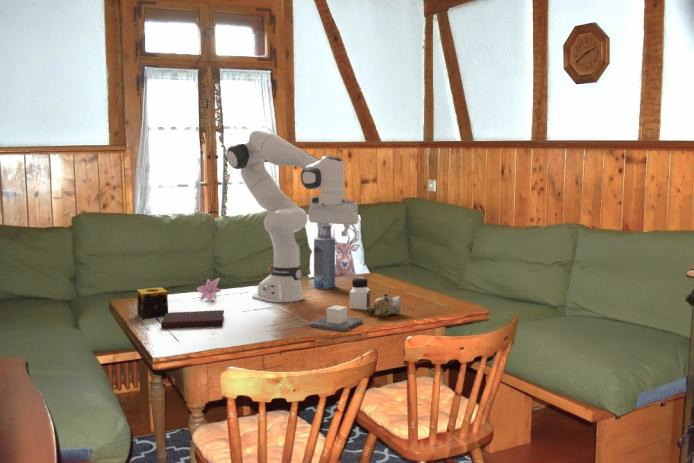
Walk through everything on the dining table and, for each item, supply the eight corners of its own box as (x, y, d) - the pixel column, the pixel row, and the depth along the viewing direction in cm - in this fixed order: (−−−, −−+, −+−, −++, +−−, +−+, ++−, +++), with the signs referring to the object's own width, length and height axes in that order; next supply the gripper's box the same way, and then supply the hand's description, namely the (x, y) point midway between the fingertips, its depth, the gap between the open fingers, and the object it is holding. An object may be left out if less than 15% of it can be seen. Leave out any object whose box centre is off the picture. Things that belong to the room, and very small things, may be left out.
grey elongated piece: (309, 287, 321) (309, 222, 317) (325, 284, 328) (325, 220, 324) (323, 290, 314) (322, 224, 310) (339, 287, 321) (339, 222, 317)
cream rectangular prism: (334, 318, 258) (334, 305, 257) (347, 320, 255) (347, 306, 254) (326, 322, 253) (326, 308, 252) (339, 324, 250) (339, 309, 250)
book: (222, 328, 252) (222, 318, 251) (161, 330, 249) (160, 320, 249) (224, 319, 266) (224, 309, 265) (166, 320, 263) (166, 311, 263)
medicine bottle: (367, 309, 277) (367, 280, 275) (349, 309, 278) (349, 279, 277) (370, 305, 284) (370, 276, 282) (352, 305, 285) (352, 276, 284)
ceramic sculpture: (408, 293, 265) (374, 300, 259) (409, 315, 267) (375, 322, 260) (393, 289, 275) (360, 295, 268) (394, 310, 276) (361, 317, 269)
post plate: (310, 326, 251) (310, 314, 251) (329, 318, 264) (329, 306, 263) (344, 331, 245) (344, 318, 244) (362, 322, 257) (362, 310, 256)
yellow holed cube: (142, 320, 262) (140, 294, 261) (136, 314, 271) (135, 289, 270) (169, 316, 267) (168, 291, 266) (162, 311, 276) (161, 286, 275)
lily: (196, 299, 301) (191, 284, 296) (218, 287, 305) (213, 272, 300) (208, 311, 293) (203, 296, 288) (230, 299, 298) (225, 283, 292)
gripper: (361, 199, 261) (361, 235, 262) (314, 197, 270) (315, 232, 272) (353, 200, 255) (353, 237, 257) (306, 198, 265) (306, 234, 267)
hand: (333, 235), depth 265 cm, fingers open, 8 cm apart
